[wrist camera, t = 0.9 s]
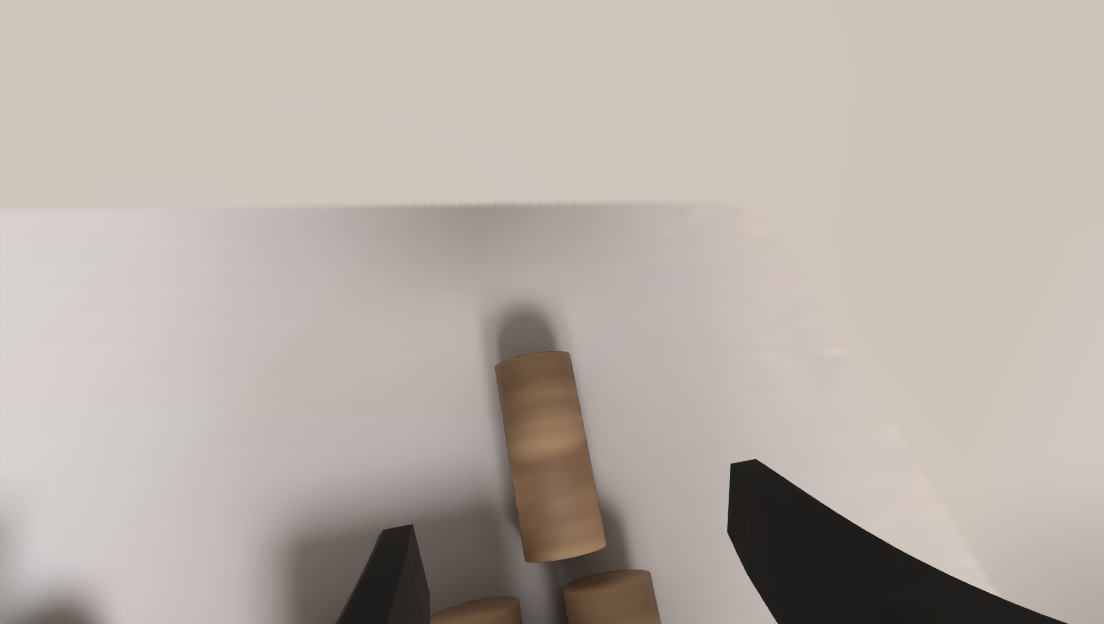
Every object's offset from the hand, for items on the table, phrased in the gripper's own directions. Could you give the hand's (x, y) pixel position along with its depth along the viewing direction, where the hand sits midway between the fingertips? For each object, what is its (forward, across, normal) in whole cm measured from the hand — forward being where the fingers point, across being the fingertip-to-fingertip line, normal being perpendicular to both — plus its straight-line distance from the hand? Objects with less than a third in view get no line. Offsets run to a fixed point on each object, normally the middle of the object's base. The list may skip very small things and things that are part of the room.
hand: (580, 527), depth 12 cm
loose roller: (+14, 0, +9) cm, 16 cm away
